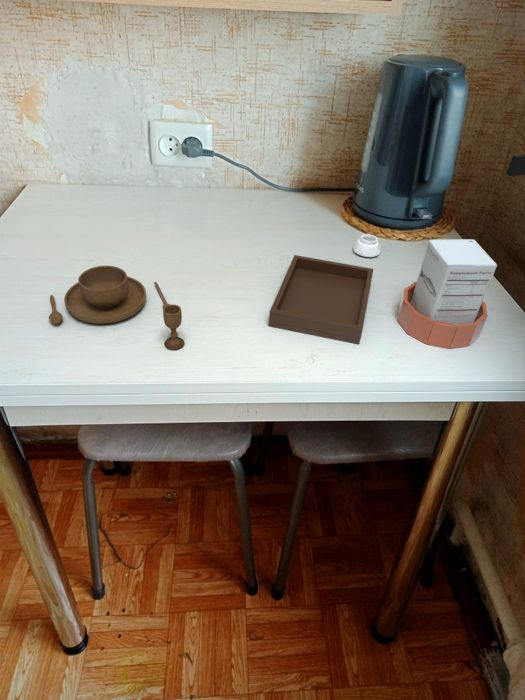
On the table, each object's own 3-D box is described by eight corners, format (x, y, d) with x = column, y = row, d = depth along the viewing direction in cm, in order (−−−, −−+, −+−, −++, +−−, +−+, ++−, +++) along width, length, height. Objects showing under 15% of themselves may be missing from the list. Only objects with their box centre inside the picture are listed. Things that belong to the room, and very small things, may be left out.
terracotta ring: (480, 355, 73) (490, 333, 71) (395, 338, 75) (402, 316, 73) (475, 309, 83) (483, 288, 80) (399, 295, 85) (405, 274, 82)
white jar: (382, 259, 94) (376, 246, 97) (385, 244, 92) (379, 231, 96) (355, 258, 93) (350, 245, 97) (358, 244, 91) (353, 231, 95)
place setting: (155, 275, 85) (152, 243, 81) (190, 347, 71) (189, 312, 67) (44, 293, 79) (35, 260, 75) (59, 375, 65) (49, 339, 62)
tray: (359, 344, 74) (362, 329, 72) (268, 326, 76) (269, 311, 74) (370, 282, 87) (373, 268, 85) (292, 268, 89) (294, 254, 87)
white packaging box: (406, 309, 81) (427, 238, 73) (451, 309, 82) (476, 238, 74) (422, 338, 76) (447, 264, 68) (469, 337, 77) (499, 264, 68)
